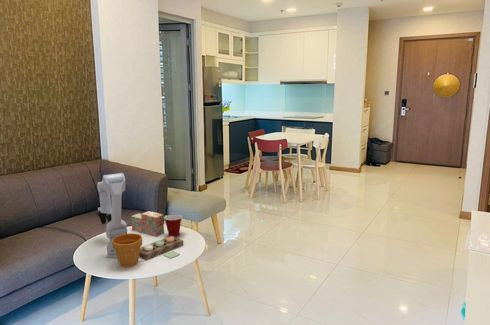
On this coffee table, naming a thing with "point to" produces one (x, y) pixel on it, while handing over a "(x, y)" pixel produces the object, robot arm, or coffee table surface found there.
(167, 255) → the colour card
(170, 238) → the terracotta button
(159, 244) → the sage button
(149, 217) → the stack of blocks
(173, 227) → the plastic cup
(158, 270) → the coffee table surface
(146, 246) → the cream button
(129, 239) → the flower pot
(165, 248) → the wooden compartment tray
